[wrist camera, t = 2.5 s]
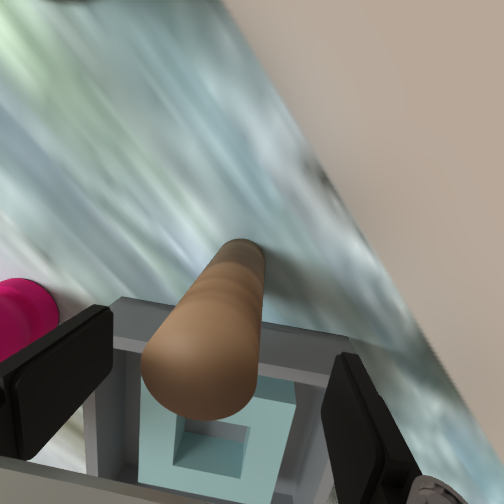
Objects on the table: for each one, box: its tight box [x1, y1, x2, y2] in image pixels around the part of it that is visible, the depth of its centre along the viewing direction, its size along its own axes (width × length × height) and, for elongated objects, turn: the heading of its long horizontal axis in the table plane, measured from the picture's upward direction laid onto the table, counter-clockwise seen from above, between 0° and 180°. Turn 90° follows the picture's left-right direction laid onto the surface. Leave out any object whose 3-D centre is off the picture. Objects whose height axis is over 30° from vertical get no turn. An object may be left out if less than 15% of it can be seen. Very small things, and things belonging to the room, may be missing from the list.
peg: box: [140, 239, 265, 421], centre depth 14 cm, size 4×4×12 cm
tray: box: [83, 297, 356, 504], centre depth 21 cm, size 20×20×5 cm
